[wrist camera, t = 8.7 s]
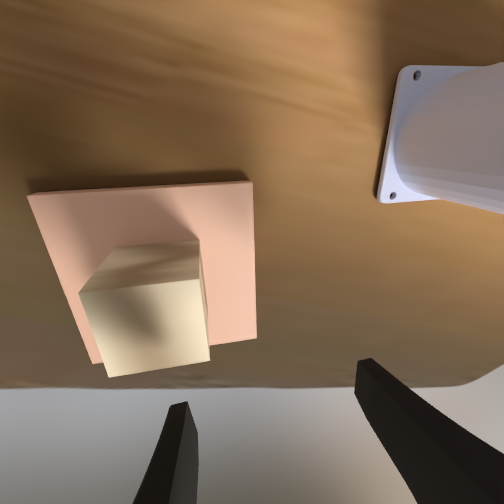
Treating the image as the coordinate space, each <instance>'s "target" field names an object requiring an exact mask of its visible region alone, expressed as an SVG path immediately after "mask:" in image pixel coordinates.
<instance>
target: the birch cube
mask: <svg viewBox="0 0 504 504" xmlns="http://www.w3.org/2000/svg"><path fill="white" fill-rule="evenodd" d="M78 294H79V297H80V300H81V302H82V305H83V308H84V311H85V313H86V316H87V319H88V322H89V324H90V327H91V330H92V332H93V335H94V338H95V341H96V343H97V346H98V349H99V351H100V354H101V357H102V360H103V362H104V365H105V368H106V371H107V373H108V376H109V377H115V376H121V375H127V374H133V373H139V372H145V371H151V370H157V369H163V368H169V367H175V366H181V365H187V364H193V363H199V362H205V361H210V352H209V329H208V305H207V297H206V289H205V281H204V272H203V264H202V256H201V247H200V240H190V241H179V242H168V243H157V244H146V245H135V246H124V247H114V249H113V250H112V251H111V252H110V254H109V255H108V256H107V257H106V259H105V260H104V261H103V262H102V264H101V265H100V266H99V267H98V269H97V270H96V271H95V272H94V274H93V275H92V276H91V277H90V279H89V280H88V281H87V282H86V284H85V285H84V286H83V287H82V289H81V290H80V291H79V292H78Z"/></svg>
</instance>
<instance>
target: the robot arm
mask: <svg viewBox="0 0 504 504" xmlns="http://www.w3.org/2000/svg"><path fill="white" fill-rule="evenodd" d="M414 72H415V73H416V79H415V80H414V79H413V75H414ZM391 193H393V195H392V197H391V198H390V194H391ZM434 199H443V200H447V201H452V202H456V203H460V204H464V205H468V206H472V207H476V208H480V209H484V210H488V211H492V212H497V213H501V214H504V62H500V63H496V64H493V65H489V66H433V65H409V66H406V67H404V68H402V69H401V71H400V72H399V74H398V78H397V84H396V90H395V95H394V101H393V107H392V112H391V118H390V124H389V130H388V135H387V141H386V147H385V152H384V158H383V164H382V169H381V175H380V181H379V187H378V192H377V200H378V201H379V202H381V203H395V202H408V201H421V200H434ZM354 393H355V396H356V398H357V399H358V402H359V404H360V406H361V408H362V410H363V412H364V414H365V416H366V418H367V420H368V421H369V423H370V425H371V427H372V428H373V430H374V432H375V433H376V435H377V437H378V438H379V440H380V441H381V443H382V445H383V446H384V448H385V450H386V451H387V453H388V454H389V456H390V457H391V459H392V461H393V463H394V464H395V466H396V467H397V469H398V471H399V472H400V474H401V475H402V477H403V479H404V480H405V482H406V484H407V485H408V487H409V489H410V490H411V492H412V494H413V496H414V498H415V500H416V501H417V503H418V504H504V454H503V453H501V452H499V451H498V450H496V449H495V448H493V447H492V446H490V445H489V444H487V443H485V442H484V441H482V440H481V439H479V438H477V437H476V436H475V435H473V434H472V433H470V432H469V431H467V430H466V429H464V428H463V427H461V426H460V425H458V424H457V423H455V422H454V421H453V420H451V419H450V418H448V417H447V416H445V415H444V414H442V413H441V412H440V411H439V410H437V409H436V408H434V407H433V406H431V405H430V404H429V403H427V402H426V401H425V400H424V399H422V398H421V397H420V396H418V395H417V394H416V393H414V392H413V391H412V390H411V389H409V388H408V387H407V386H405V385H404V384H403V383H402V382H400V381H399V380H398V379H397V378H395V377H394V376H393V375H392V374H390V373H389V372H388V371H387V370H385V369H384V368H383V367H382V366H381V365H379V364H378V363H377V362H376V361H374V360H373V359H372V358H369V359H364V360H360V361H358V363H357V372H356V382H355V391H354ZM198 465H199V462H198V432H197V429H196V426H195V423H194V420H193V417H192V414H191V411H190V408H189V405H188V402H182V403H178V404H174V405H171V406H170V408H169V411H168V414H167V417H166V420H165V423H164V426H163V429H162V432H161V435H160V438H159V440H158V443H157V446H156V449H155V451H154V454H153V456H152V459H151V462H150V464H149V466H148V469H147V472H146V474H145V476H144V479H143V481H142V483H141V486H140V488H139V490H138V493H137V495H136V497H135V499H134V501H133V504H196V501H197V484H198Z"/></svg>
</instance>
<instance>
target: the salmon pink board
mask: <svg viewBox="0 0 504 504" xmlns="http://www.w3.org/2000/svg"><path fill="white" fill-rule="evenodd" d="M27 198H28V201H29V203H30V206H31V208H32V211H33V213H34V216H35V218H36V221H37V224H38V226H39V229H40V231H41V234H42V236H43V239H44V241H45V244H46V246H47V249H48V252H49V254H50V257H51V259H52V262H53V264H54V267H55V269H56V272H57V274H58V277H59V280H60V282H61V285H62V287H63V290H64V292H65V295H66V297H67V300H68V302H69V305H70V308H71V310H72V313H73V315H74V318H75V320H76V323H77V325H78V328H79V330H80V333H81V336H82V338H83V341H84V343H85V346H86V348H87V351H88V353H89V356H90V358H91V361H92V364H94V363H101V362H103V360H102V357H101V354H100V351H99V349H98V346H97V343H96V341H95V338H94V335H93V332H92V330H91V327H90V324H89V322H88V319H87V316H86V313H85V311H84V308H83V305H82V302H81V300H80V297H79V294H78V292H79V291H80V290H81V289H82V287H83V286H84V285H85V284H86V282H87V281H88V280H89V279H90V277H91V276H92V275H93V274H94V272H95V271H96V270H97V269H98V267H99V266H100V265H101V264H102V262H103V261H104V260H105V259H106V257H107V256H108V255H109V254H110V252H111V251H112V250H113V249H114V247H124V246H135V245H146V244H157V243H168V242H179V241H190V240H200V247H201V256H202V264H203V272H204V281H205V289H206V297H207V305H208V329H209V345H216V344H222V343H229V342H235V341H241V340H248V339H254V338H257V335H256V296H255V257H254V218H253V183H252V182H251V181H250V180H248V181H231V182H213V183H195V184H177V185H159V186H142V187H124V188H106V189H88V190H71V191H53V192H37V193H34V194H31V195H28V196H27Z"/></svg>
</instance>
